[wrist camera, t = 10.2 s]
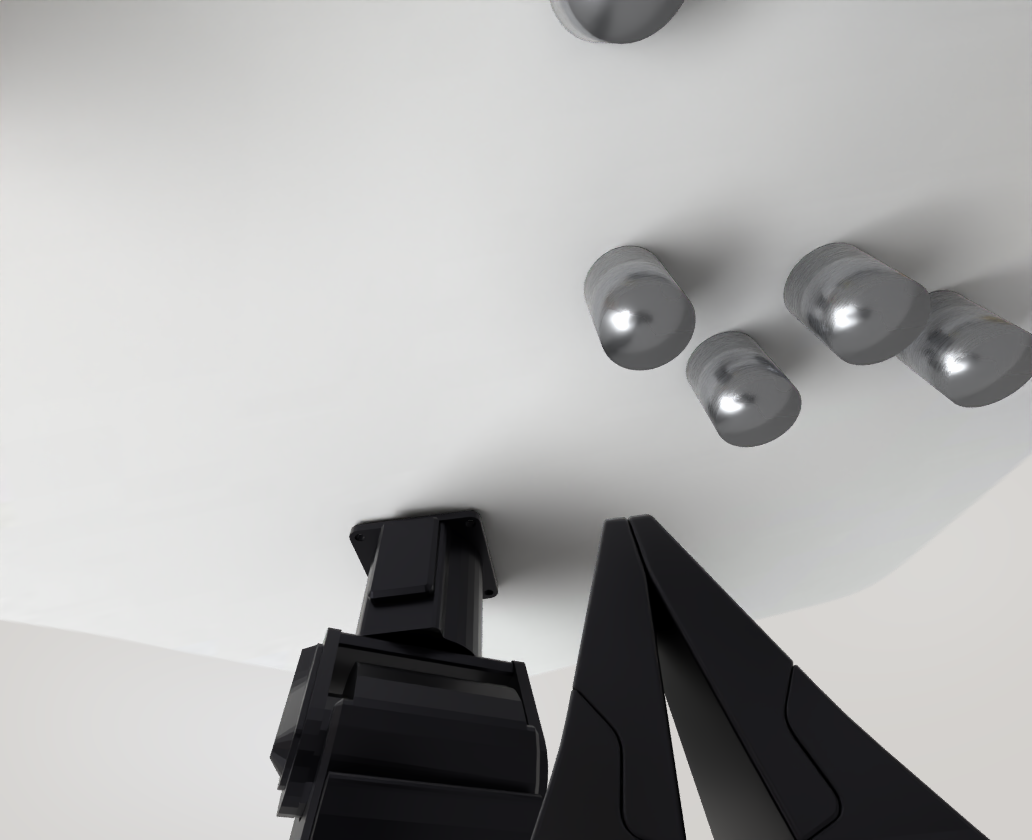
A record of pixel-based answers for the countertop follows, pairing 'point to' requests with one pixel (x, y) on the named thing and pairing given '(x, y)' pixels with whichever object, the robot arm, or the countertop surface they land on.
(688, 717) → the robot arm
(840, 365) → the countertop surface
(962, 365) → the spacers
